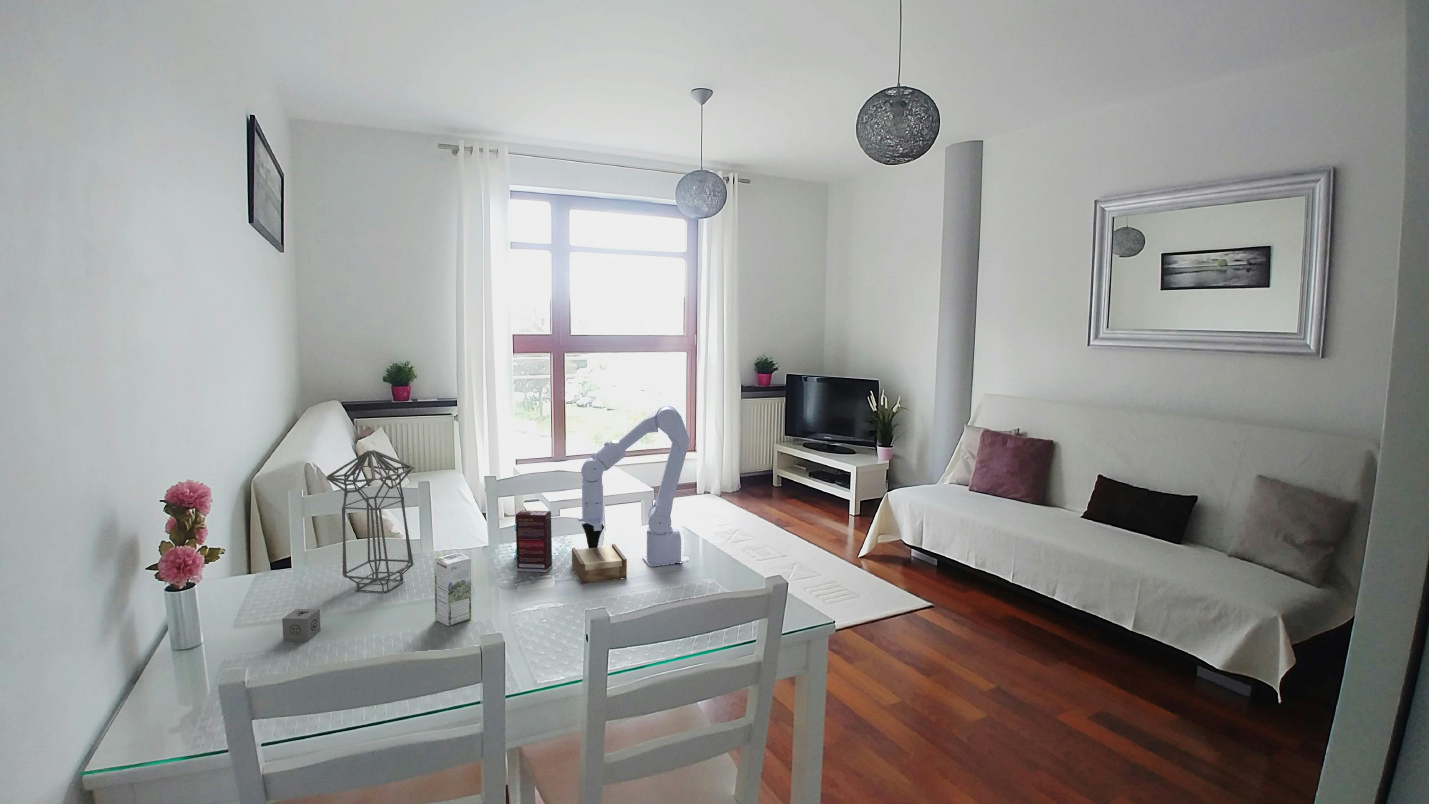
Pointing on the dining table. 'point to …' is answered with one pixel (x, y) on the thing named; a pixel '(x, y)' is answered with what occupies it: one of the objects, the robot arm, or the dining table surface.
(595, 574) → the box
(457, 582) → the syrup box
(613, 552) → the lid
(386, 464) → the geometric lantern
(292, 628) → the dice cube
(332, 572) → the dining table surface
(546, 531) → the supplement box
